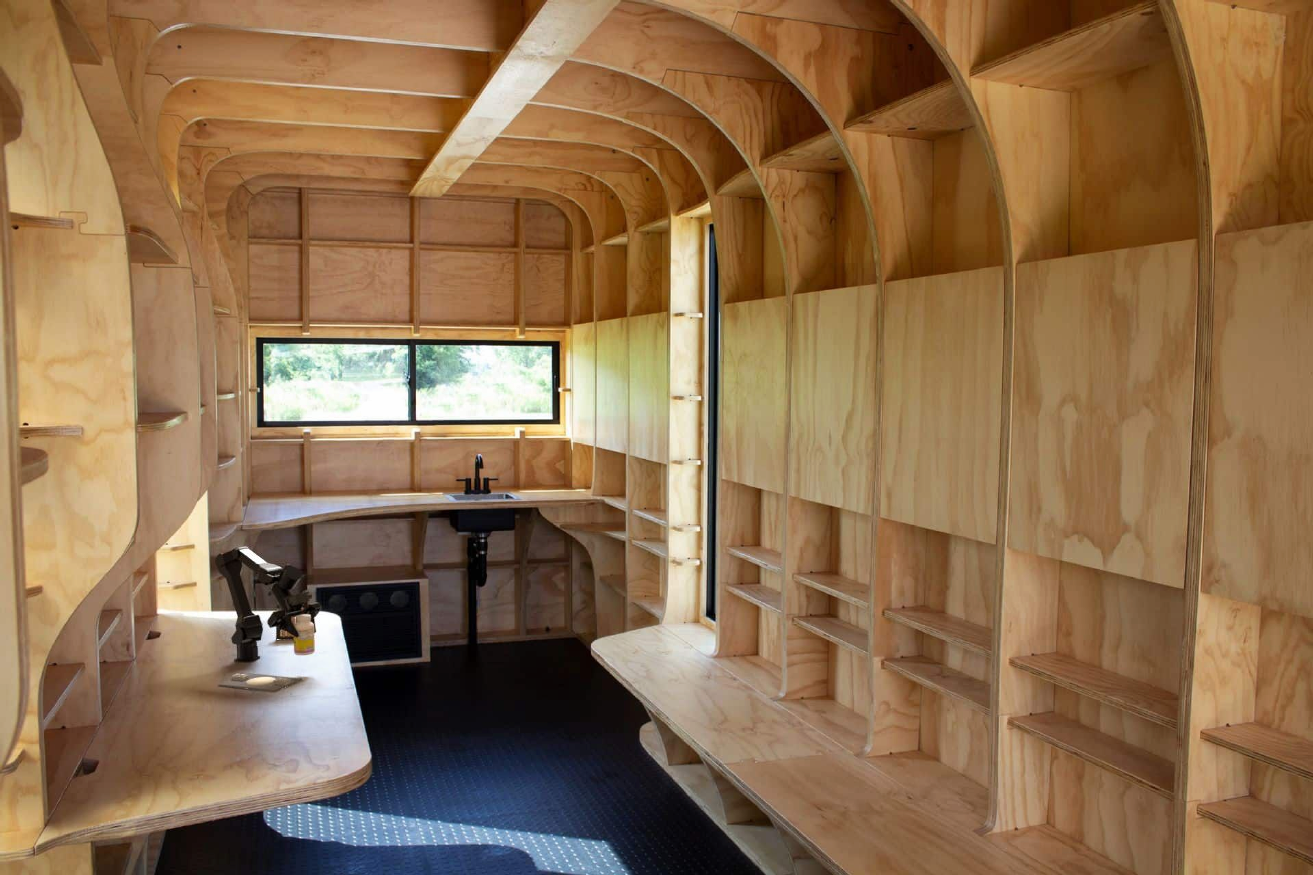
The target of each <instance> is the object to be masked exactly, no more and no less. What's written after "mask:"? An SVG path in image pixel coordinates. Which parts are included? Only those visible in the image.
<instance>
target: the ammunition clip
mask: <svg viewBox="0 0 1313 875" xmlns="http://www.w3.org/2000/svg"><path fill="white" fill-rule="evenodd" d="M301 609H302V610H303V609H304V606H303V607H302V608H301ZM279 610H280V609H278V608H277V609H276V611H279ZM291 621H292V623H293V625H295V624H296V623H297V620H296V617H294V618H291ZM275 630H276V631H275V641H276V640H277V639H292V640H294V636H293V635H291V634H290V633H288V632H286V631H284V630H282V629H280V628H277V626H276V627H275ZM277 641H278V640H277Z"/></svg>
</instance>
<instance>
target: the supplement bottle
mask: <svg viewBox="0 0 1313 875" xmlns="http://www.w3.org/2000/svg"><path fill="white" fill-rule="evenodd" d="M296 620H297V623H296V622H295V625H294V627H295V628H296V630H297V632H298V634H299V636H298V637H295V636H294V639H293V651H294V652H293V653H294V655H296V656H309V655H310V656H311V655H312V654H314V653H315V652H316V646H315V645H316V644H315V642H316V641H315V633H314V624H313V623H312V622H310V620H311V615H309V614H303V615H298V616H296V617H295V621H296Z"/></svg>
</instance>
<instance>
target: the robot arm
mask: <svg viewBox="0 0 1313 875" xmlns="http://www.w3.org/2000/svg"><path fill="white" fill-rule="evenodd" d="M214 563H215V566H216V568H217V571H218V573H219V574H220V575H221V576H222V577H224V578H225V581H226V583H227V586H228V590H229V593H230V595H231V599H232V603H233V606H234V610H235V612H236V616H237V617H236V621H235V625H234V626H235V632H234V633H233V634H232V636H231V637H230V639H231V642H232V645H236V658H234V659H233V661H236V662H244V663H245V662H246V663H249V662H252V661H255V660H258V659H260V658H261V656H260V655H259V647H258V641H260V642H261V641H262V638H263V637H262V636H263V631H264V627H263V622H262V620H261V619H262V618H261V616H260V615H259V614H255V613H254V611H252V608H251V604H250V601H249V598H248V595H247V591H246V588H245V585H244V582H243V578H242V575H241V573H242V569H243V565H245V566H246V567H247V568H249V569H250V570H251V571H253V572H254V573H256V577H257V580H258V581H259V582H260V583H261V585H263V586H270V585H272V586H271V587H269V590H268V592H267V595H268V597H271V596H272V597H273V598H274V599H275V601H276V603H277V606H276V608H277V609H279V611H277V610H276V611H275V610H274V611H272V613H271V614H270V615H269V617H268V619H267V622H266V624H267V625H268V627H269V628H270V629H272V628H276V626H277V628H280V629H282V630H284V631H286V632H288V633H290V634H291V635H293V636H295V637H298V636H299V634H298V632H297V630H296V628H295V627H294V625H293V623H292V621H291V618H294V617H295V618H296V616H298V615H303V614H309V615H311V620H310V622H312V623H313V624H314V634H316V633H317V629H316V621H315V618H316V617H317V615H319V613H320V612H321V611H322V609H323V606H322V605H321V604H320V602H318V601H317V602H312V603H308V605H307V606H306V607H305V608H304V606H305V603H307V602H310V601H311V600H312V598H313V595H312V592H311V590H309V589H305V590H303V591H302V592H300V593H294V594H293V592H292V590H294V588H295V587H296V586H297V584H298V583H299V582H300V581H301V578H302V577H303V573H302V571H301V570H299V569H300V568H299V569H298V568H297V567H295V566H293V565H292V564H291V563H290V564H285V566H284V568H282V567H281V566H279V565H277V564H273V563H269V562H267V561H265V560H264V559H263V558H261V557H260V556H258V555H257V554H256V553H255V552H253V551H252V550H251V549H250V548H249V547H248V546H245V545H243V546H238V547H235V548H233V549H231V550H229V551H226V552H221V553H218V554H217V556H216V557H215V560H214ZM302 607H303V610H302V609H301V608H302Z"/></svg>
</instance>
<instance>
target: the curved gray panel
mask: <svg viewBox="0 0 1313 875" xmlns="http://www.w3.org/2000/svg"><path fill="white" fill-rule="evenodd" d="M303 681H304V679H303V678H301V677H300V678H299V677H291V676H290V677H289V676H281V675H271V674H261V673H253V672H252V673H251V672H247V673H241V674H240V673H235V674H232V675H231V678H230V679H229V680H226V681H223V682H220V683H219V684H218V687H223V686H224V687H225V686H226V687H225V688H232V687H236V688H235V689H241V688H248V689H247V690H250V689H255V690H254V691H260V692H268V691H270V692H269V693H276V692H278V691H281V690H283V689H282V688H284V689H286V688H287V686H288V687H290V686H293V685H296V684H298V683H300V682H303ZM292 684H293V685H292ZM224 687H223V688H224ZM285 687H286V688H285ZM280 689H281V690H280ZM275 691H276V692H275Z"/></svg>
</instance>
